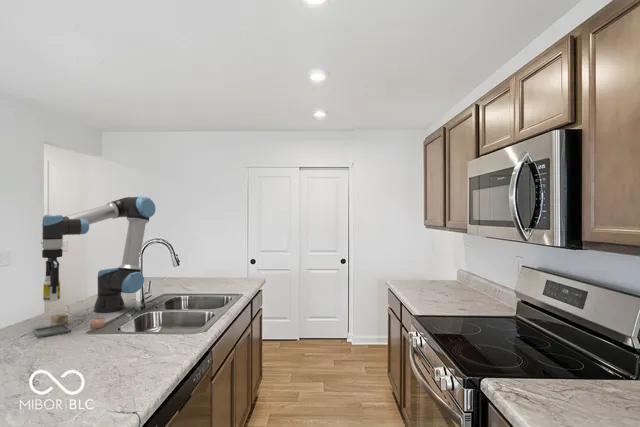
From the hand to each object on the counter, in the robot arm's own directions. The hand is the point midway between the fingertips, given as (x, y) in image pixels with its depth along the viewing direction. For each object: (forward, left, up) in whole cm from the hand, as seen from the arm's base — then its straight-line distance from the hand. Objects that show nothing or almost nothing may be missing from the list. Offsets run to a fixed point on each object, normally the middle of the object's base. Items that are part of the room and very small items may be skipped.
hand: (51, 299), depth 169 cm
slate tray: (0, 0, -15) cm, 15 cm away
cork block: (-5, -10, -15) cm, 19 cm away
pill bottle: (0, 0, -1) cm, 1 cm away
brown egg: (-17, +5, -15) cm, 23 cm away
